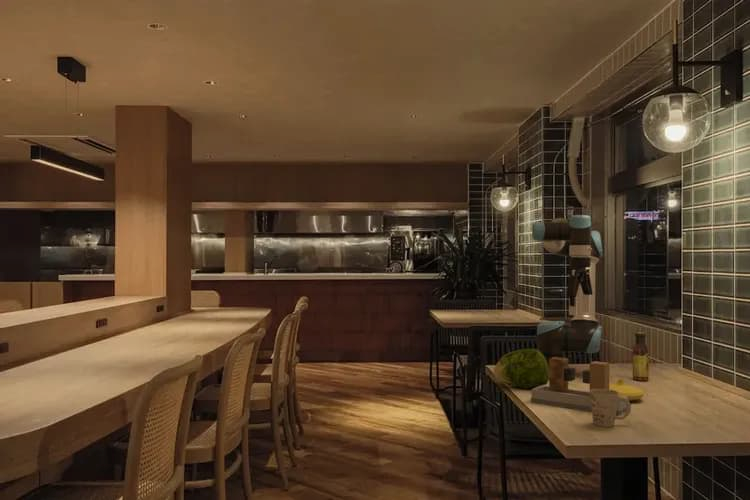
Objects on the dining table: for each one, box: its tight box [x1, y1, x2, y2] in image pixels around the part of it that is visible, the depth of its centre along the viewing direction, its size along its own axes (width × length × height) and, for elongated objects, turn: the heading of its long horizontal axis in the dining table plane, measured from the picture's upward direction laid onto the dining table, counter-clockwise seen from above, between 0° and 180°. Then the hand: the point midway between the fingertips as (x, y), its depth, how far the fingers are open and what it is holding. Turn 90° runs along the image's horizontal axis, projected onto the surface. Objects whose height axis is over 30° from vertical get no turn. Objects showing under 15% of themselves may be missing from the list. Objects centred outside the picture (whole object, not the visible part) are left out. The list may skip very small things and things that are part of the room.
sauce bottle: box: [632, 332, 650, 382], centre depth 267 cm, size 6×6×20 cm
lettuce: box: [493, 348, 549, 389], centre depth 250 cm, size 16×21×15 cm
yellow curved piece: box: [609, 378, 645, 402], centre depth 230 cm, size 16×16×7 cm
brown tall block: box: [548, 357, 576, 393], centre depth 222 cm, size 8×5×14 cm, turn 54°
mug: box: [588, 389, 632, 428], centre depth 194 cm, size 8×13×10 cm, turn 95°
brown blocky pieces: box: [530, 360, 628, 416], centre depth 218 cm, size 30×10×16 cm, turn 53°
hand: (579, 313), depth 238 cm, fingers open, 13 cm apart
